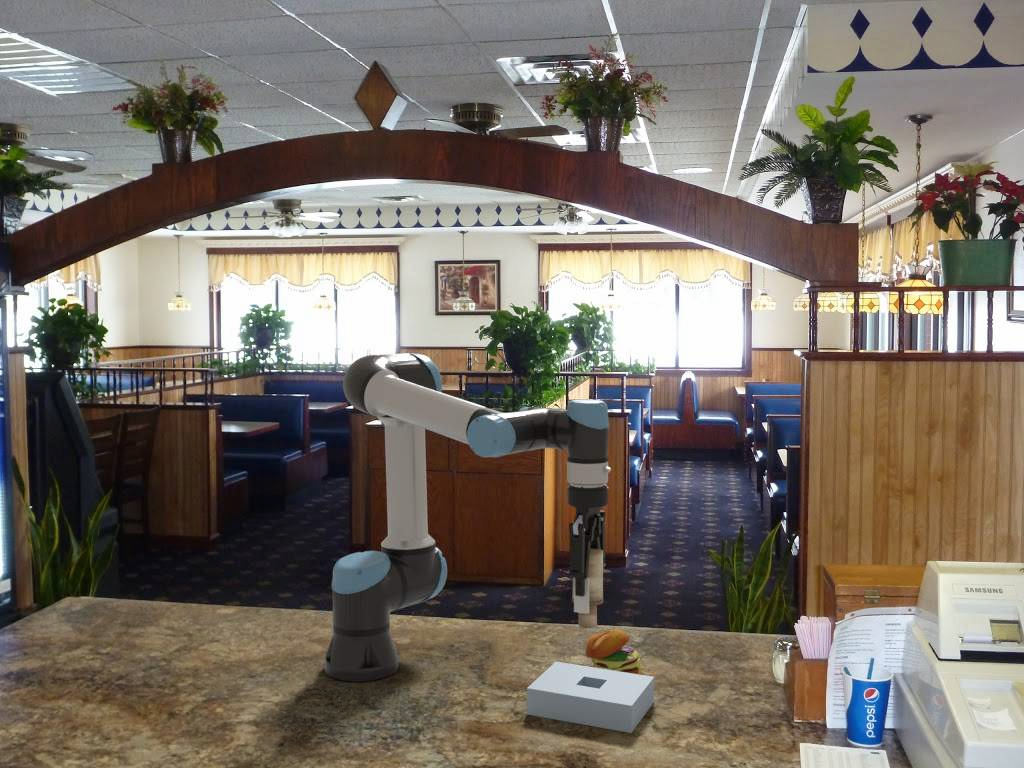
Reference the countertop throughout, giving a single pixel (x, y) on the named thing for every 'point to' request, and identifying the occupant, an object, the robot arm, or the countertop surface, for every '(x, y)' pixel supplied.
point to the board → (591, 696)
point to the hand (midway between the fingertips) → (587, 607)
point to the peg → (593, 588)
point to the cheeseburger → (613, 652)
